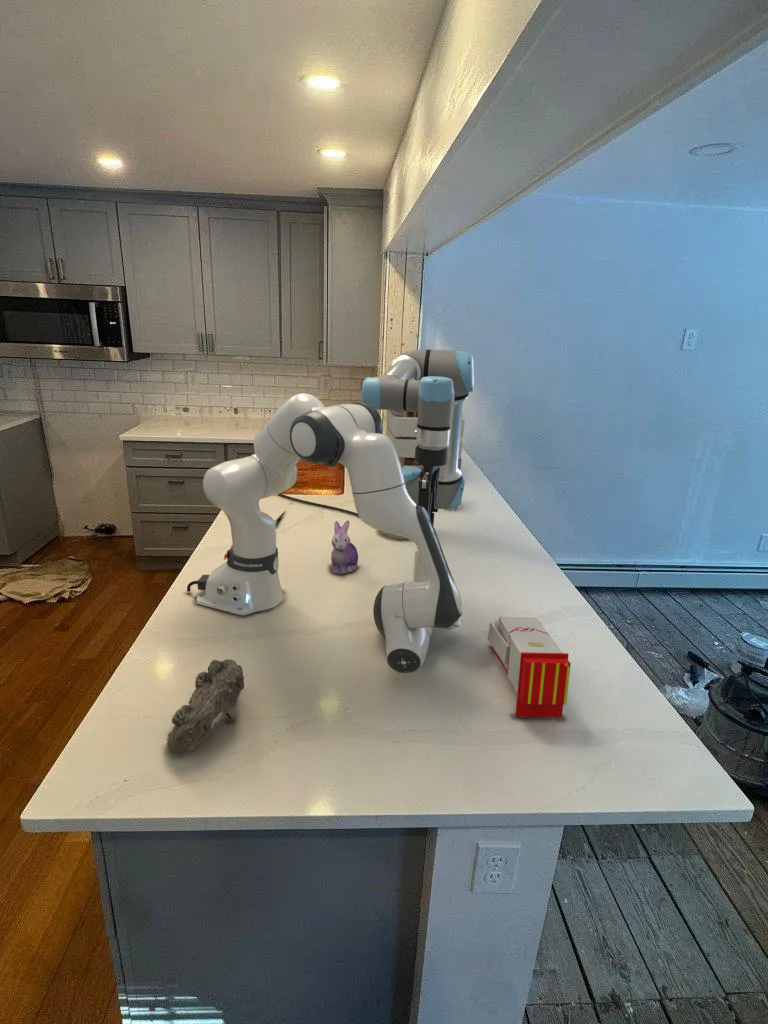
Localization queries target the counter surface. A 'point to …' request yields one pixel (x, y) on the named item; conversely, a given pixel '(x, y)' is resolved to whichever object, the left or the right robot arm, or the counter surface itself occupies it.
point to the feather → (279, 519)
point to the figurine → (343, 550)
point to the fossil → (206, 705)
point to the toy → (531, 665)
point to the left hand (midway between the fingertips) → (421, 595)
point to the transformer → (408, 435)
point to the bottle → (420, 568)
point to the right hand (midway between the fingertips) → (425, 540)
